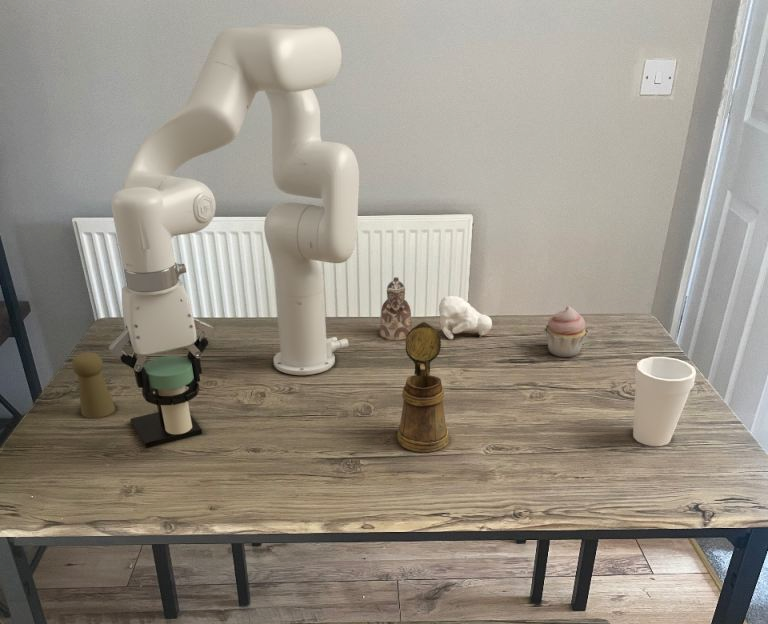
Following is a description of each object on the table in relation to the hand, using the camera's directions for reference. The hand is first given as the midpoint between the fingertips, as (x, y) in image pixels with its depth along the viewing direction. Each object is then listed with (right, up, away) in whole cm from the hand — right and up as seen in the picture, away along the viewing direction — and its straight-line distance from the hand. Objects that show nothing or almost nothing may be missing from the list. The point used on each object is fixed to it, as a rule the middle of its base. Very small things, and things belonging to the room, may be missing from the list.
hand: (170, 383), depth 130 cm
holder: (-2, -8, +11) cm, 13 cm away
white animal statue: (+52, +18, +48) cm, 73 cm away
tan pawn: (-19, -2, +19) cm, 27 cm away
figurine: (+37, +19, +48) cm, 64 cm away
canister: (0, -7, +5) cm, 8 cm away
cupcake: (+72, +13, +40) cm, 84 cm away
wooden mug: (+41, -7, +12) cm, 44 cm away
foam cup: (+81, -8, +10) cm, 82 cm away
